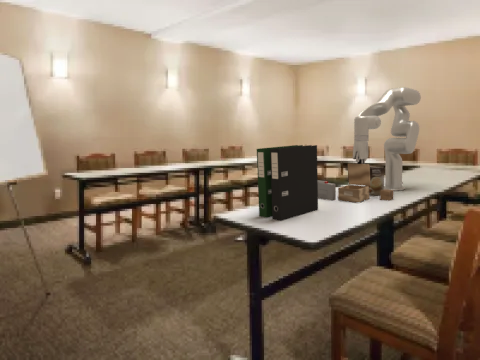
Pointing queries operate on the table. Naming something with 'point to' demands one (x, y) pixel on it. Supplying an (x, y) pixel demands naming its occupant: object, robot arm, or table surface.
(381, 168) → the coffee box
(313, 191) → the ring binders
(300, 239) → the table surface
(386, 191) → the walnut block
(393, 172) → the robot arm
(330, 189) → the cassette player
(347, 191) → the carton
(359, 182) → the lid
